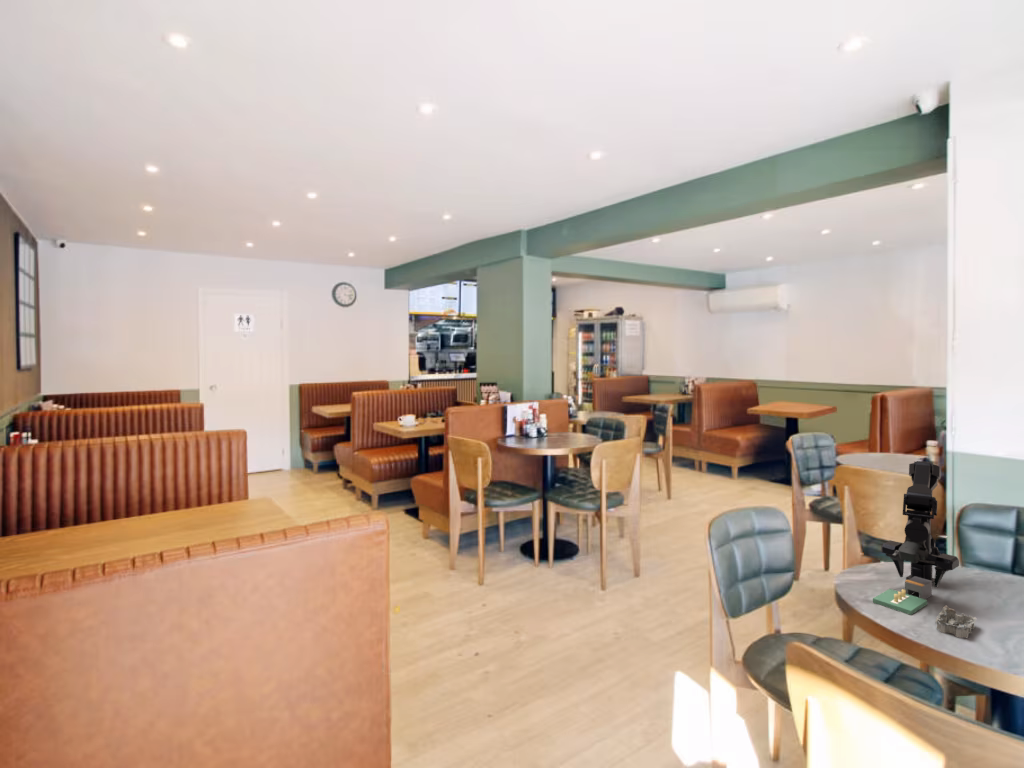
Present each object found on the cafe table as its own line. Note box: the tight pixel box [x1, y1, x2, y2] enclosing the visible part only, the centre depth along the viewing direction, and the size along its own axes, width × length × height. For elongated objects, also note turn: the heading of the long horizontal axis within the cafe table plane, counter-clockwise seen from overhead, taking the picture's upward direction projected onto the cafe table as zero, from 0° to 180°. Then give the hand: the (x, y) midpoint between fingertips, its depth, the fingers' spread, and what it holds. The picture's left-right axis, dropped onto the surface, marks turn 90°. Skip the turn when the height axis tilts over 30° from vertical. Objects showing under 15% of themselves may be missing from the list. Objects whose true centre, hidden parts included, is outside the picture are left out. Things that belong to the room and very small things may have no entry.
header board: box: [872, 588, 928, 615], centre depth 166 cm, size 11×10×3 cm
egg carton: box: [935, 604, 978, 639], centre depth 151 cm, size 11×8×4 cm
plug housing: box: [904, 576, 933, 600], centre depth 170 cm, size 7×5×5 cm, turn 123°
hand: (918, 581), depth 170 cm, fingers open, 9 cm apart
